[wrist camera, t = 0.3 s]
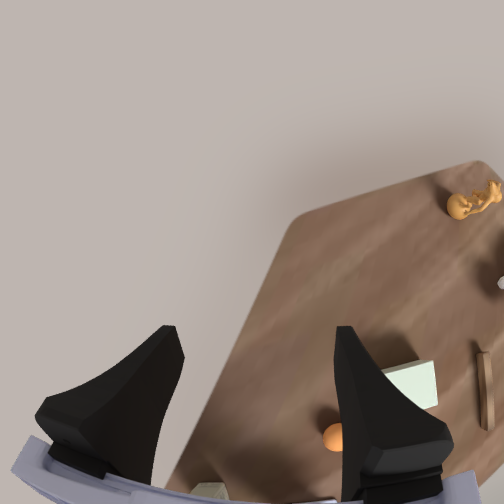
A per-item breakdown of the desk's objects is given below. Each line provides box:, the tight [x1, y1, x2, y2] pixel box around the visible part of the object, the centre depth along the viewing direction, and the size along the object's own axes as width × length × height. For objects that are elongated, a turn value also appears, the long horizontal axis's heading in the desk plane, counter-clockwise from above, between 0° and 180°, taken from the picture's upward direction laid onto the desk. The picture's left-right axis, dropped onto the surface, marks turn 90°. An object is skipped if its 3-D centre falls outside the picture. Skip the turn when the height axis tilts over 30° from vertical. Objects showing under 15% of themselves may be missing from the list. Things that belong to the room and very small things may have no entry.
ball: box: [323, 423, 342, 451], centre depth 34 cm, size 4×4×4 cm
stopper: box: [476, 352, 494, 431], centre depth 30 cm, size 12×1×2 cm, turn 8°
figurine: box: [447, 180, 502, 220], centre depth 35 cm, size 8×6×12 cm
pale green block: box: [381, 360, 438, 409], centre depth 33 cm, size 6×8×6 cm
